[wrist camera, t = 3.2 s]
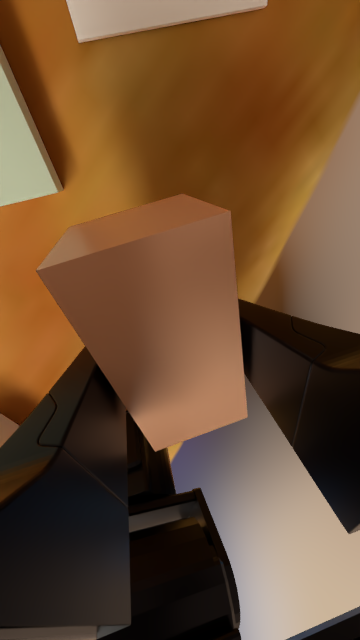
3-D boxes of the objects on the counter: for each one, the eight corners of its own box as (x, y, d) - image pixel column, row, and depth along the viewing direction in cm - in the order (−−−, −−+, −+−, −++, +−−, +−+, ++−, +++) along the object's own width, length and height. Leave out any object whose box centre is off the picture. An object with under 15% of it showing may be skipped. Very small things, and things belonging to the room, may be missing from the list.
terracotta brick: (213, 353, 12) (247, 417, 9) (144, 377, 12) (155, 451, 9) (182, 193, 8) (230, 210, 5) (69, 226, 8) (35, 270, 4)
